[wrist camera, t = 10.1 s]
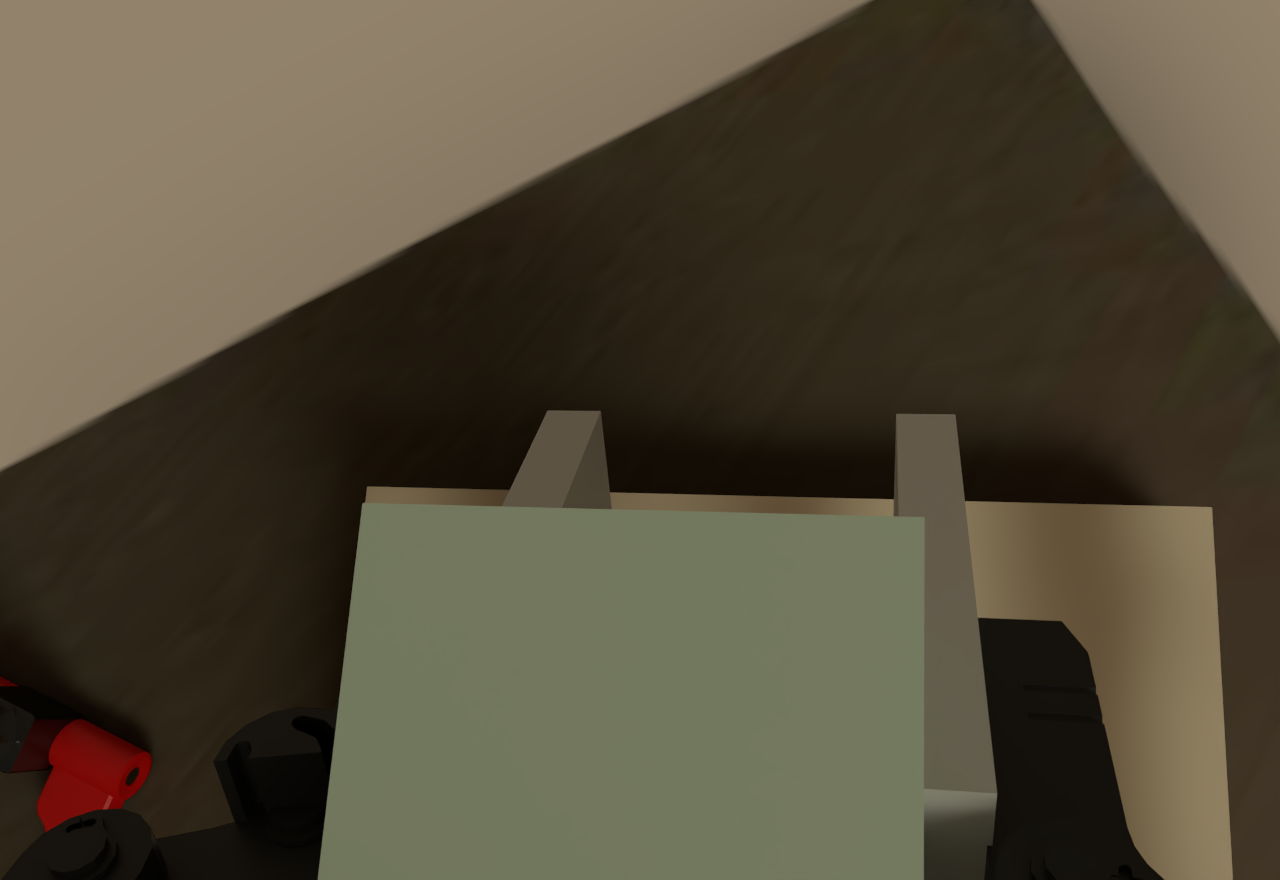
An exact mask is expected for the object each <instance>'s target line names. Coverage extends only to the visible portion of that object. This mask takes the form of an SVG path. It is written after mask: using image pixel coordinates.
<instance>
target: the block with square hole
mask: <svg viewBox="0 0 1280 880" xmlns="http://www.w3.org/2000/svg"><path fill="white" fill-rule="evenodd" d="M508 493H509V490H489V489H448V488H407V487H367V492H366V501H365V503H384V504H424V505H463V506H502V505H503V503H504V501H505V499H506V497H507V495H508ZM610 498H611V507H612V509H620V510H660V511H699V512H738V513H778V514H817V515H856V516H893V513H894V499H855V498H815V497H774V496H733V495H692V494H652V493H611V492H610ZM965 506H966V515H967V524H968V534H969V543H970V552H971V561H972V570H973V579H974V588H975V597H976V606H977V615H978V618H999V619H1024V620H1048V621H1062V622H1063V623H1064V624H1065V626H1066V627H1067V628H1068V629H1069V630H1070V631H1071V633H1072V634H1073V635H1074V636H1075V637H1076V639H1077V640H1078V641H1079V642H1080V643H1081V645H1082V646H1083V647H1084V648H1085V649H1086V650H1087V652H1088V654H1089V658H1090V662H1091V667H1092V671H1093V676H1094V680H1095V685H1096V695H1098V698H1099V703H1100V707H1101V711H1102V716H1103V718H1102V720H1103V724H1104V725H1105V729H1106V734H1107V738H1108V743H1109V747H1110V751H1111V756H1112V760H1113V765H1114V769H1115V774H1116V778H1117V783H1118V787H1119V791H1120V796H1121V800H1122V805H1123V809H1124V814H1125V818H1126V823H1127V827H1128V830H1129V833H1130V835H1131V838H1132V840H1133V843H1134V846H1135V847H1136V849H1137V850H1138V851H1139V853H1140V854H1141V856H1142V857H1143V858H1144V860H1145V861H1146V863H1147V864H1148V865H1149V866H1150V867H1151V868H1152V869H1154V870H1155V871H1156V872H1157V873H1158V874H1159V875H1160V876H1161V877H1162V878H1163V879H1164V880H1233V875H1232V857H1231V839H1230V821H1229V804H1228V786H1227V768H1226V750H1225V732H1224V714H1223V697H1222V679H1221V661H1220V643H1219V625H1218V608H1217V590H1216V572H1215V554H1214V536H1213V519H1212V507H1181V506H1141V505H1100V504H1059V503H1018V502H978V501H965Z"/></svg>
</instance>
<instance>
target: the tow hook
mask: <svg viewBox="0 0 1280 880" xmlns="http://www.w3.org/2000/svg"><path fill="white" fill-rule="evenodd" d="M151 765H152V757H151V755H150V754H149V753H148V752H146V751H144V750H142V749H140V748H138V747H136V746H135V745H133V744H131V743H129V742H127V741H125V740H123V739H121V738H119V737H117V736H115V735H113V734H111V733H109V732H107V731H105V730H103V729H101V728H99V727H98V726H96V725H94V724H92V723H90V722H88V720H87V718H86V717H85V716H84V715H82V714H81V713H79V712H77V711H75V710H73V709H71V708H69V707H67V706H65V705H63V704H61V703H59V702H57V701H55V700H53V699H52V698H50V697H48V696H46V695H44V694H42V693H40V692H38V691H36V690H34V689H32V688H30V687H25V686H18V685H16V684H14V683H12V682H10V681H8V680H6V679H4V678H2V677H0V771H2V772H4V773H17V772H29V771H41V770H52V771H51V773H50V775H49V777H48V779H47V781H46V783H45V786H44V788H43V790H42V792H41V794H40V796H39V799H38V801H37V814H38V816H39V818H40V819H41V821H42V823H43V825H44V828H45V832H47V831H48V830H50V829H52V828H54V827H55V826H57V825H59V824H60V823H62V822H64V821H65V820H67V819H69V818H72V817H75V816H78V815H81V814H84V813H87V812H90V811H93V810H101V809H120V808H121V807H122V805H123V803H124V800H127V799H128V798H130V797H132V796H133V795H134V794H135V793H136V792H137V791H138V790H139V789H140V788H141V786H142V785H143V783H144V782H145V780H146V778H147V777H148V775H149V772H150V769H151Z"/></svg>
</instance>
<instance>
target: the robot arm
mask: <svg viewBox="0 0 1280 880" xmlns="http://www.w3.org/2000/svg"><path fill="white" fill-rule="evenodd" d="M502 507H542V508H581V509H612V507H611V498H610V489H609V480H608V471H607V462H606V454H605V445H604V436H603V427H602V418H601V411H547V413H546V415H545V417H544V419H543V421H542V423H541V426H540V428H539V430H538V432H537V434H536V436H535V438H534V440H533V442H532V444H531V447H530V449H529V451H528V453H527V455H526V457H525V459H524V461H523V463H522V465H521V467H520V470H519V472H518V474H517V476H516V478H515V480H514V482H513V484H512V486H511V488H510V490H509V493H508V495H507V497H506V499H505V501H504V503H503V505H502ZM893 516H896V517H925V557H924V880H1164V879H1163V878H1162V877H1161V876H1160V875H1159V874H1158V873H1157V872H1156V871H1155V870H1154V869H1152V868H1151V867H1150V866H1149V865H1148V864H1147V863H1146V861H1145V860H1144V858H1143V857H1142V856H1141V854H1140V853H1139V851H1138V850H1137V849H1136V847H1135V846H1134V843H1133V840H1132V838H1131V835H1130V833H1129V830H1128V827H1127V823H1126V818H1125V814H1124V809H1123V805H1122V800H1121V796H1120V791H1119V787H1118V783H1117V778H1116V774H1115V769H1114V765H1113V760H1112V756H1111V751H1110V747H1109V743H1108V738H1107V734H1106V729H1105V725H1104V724H1103V720H1102V718H1103V716H1102V711H1101V707H1100V703H1099V698H1098V695H1096V685H1095V680H1094V676H1093V671H1092V667H1091V662H1090V658H1089V654H1088V652H1087V650H1086V649H1085V648H1084V647H1083V646H1082V645H1081V643H1080V642H1079V641H1078V640H1077V639H1076V637H1075V636H1074V635H1073V634H1072V633H1071V631H1070V630H1069V629H1068V628H1067V627H1066V626H1065V624H1064V623H1063V622H1062V621H1048V620H1024V619H999V618H978V615H977V606H976V597H975V588H974V579H973V570H972V561H971V552H970V543H969V534H968V524H967V515H966V506H965V497H964V488H963V479H962V470H961V461H960V452H959V443H958V434H957V425H956V416H955V415H952V414H896V441H895V477H894V513H893ZM338 705H339V698H338V700H337V702H336V704H335V706H334V707H333V709H332V711H331V712H329V711H326V710H324V709H322V708H304V707H296V708H291V709H287V710H282V711H277V712H273V713H270V714H268V715H266V716H263V717H261V718H259V719H257V720H255V721H253V722H251V723H249V724H247V725H245V726H244V727H243V728H242V729H240V730H239V731H238V732H237V733H236V734H234V735H233V736H232V737H231V738H230V739H229V740H227V741H226V742H225V744H224V745H223V747H222V749H221V750H220V752H219V753H218V755H217V756H216V758H215V760H214V761H213V762H214V765H215V767H216V770H217V773H218V776H219V778H220V781H221V784H222V787H223V790H224V792H225V795H226V798H227V801H228V804H229V806H230V809H231V812H232V815H233V818H234V820H235V822H233V823H229V824H226V825H222V826H219V827H215V828H211V829H205V830H200V831H195V832H190V833H185V834H180V835H174V836H169V837H164V838H159V839H155V836H154V834H153V831H152V829H151V827H150V826H149V825H148V824H147V823H146V821H145V820H144V819H143V818H142V817H141V815H139V814H136V813H133V812H130V811H127V810H124V809H121V808H120V809H101V810H93V811H90V812H87V813H84V814H81V815H78V816H75V817H72V818H69V819H67V820H65V821H64V822H62V823H60V824H59V825H57V826H55V827H54V828H52V829H50V830H48V831H47V832H45V833H43V834H42V835H41V836H40V837H39V838H38V839H37V840H36V841H35V842H34V843H33V844H32V845H31V846H30V847H29V848H28V849H27V850H25V851H24V852H23V853H22V855H21V856H20V857H19V858H18V860H17V861H16V862H15V863H14V865H13V866H12V867H11V868H10V870H9V871H8V872H7V873H6V875H5V876H4V877H3V878H2V880H318V872H319V864H320V856H321V847H322V839H323V830H324V822H325V814H326V805H327V797H328V788H329V780H330V772H331V763H332V755H333V747H334V738H335V730H336V721H337V713H338Z"/></svg>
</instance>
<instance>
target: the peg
mask: <svg viewBox="0 0 1280 880" xmlns="http://www.w3.org/2000/svg"><path fill="white" fill-rule="evenodd" d="M924 557H925V517H896V516H856V515H817V514H778V513H738V512H699V511H660V510H620V509H581V508H542V507H502V506H463V505H424V504H384V503H362V511H361V520H360V528H359V537H358V545H357V553H356V562H355V570H354V579H353V587H352V595H351V604H350V612H349V621H348V629H347V637H346V646H345V654H344V663H343V671H342V679H341V688H340V696H339V705H338V713H337V721H336V730H335V738H334V747H333V755H332V763H331V772H330V780H329V788H328V797H327V805H326V814H325V822H324V830H323V839H322V847H321V856H320V864H319V872H318V880H924Z"/></svg>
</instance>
